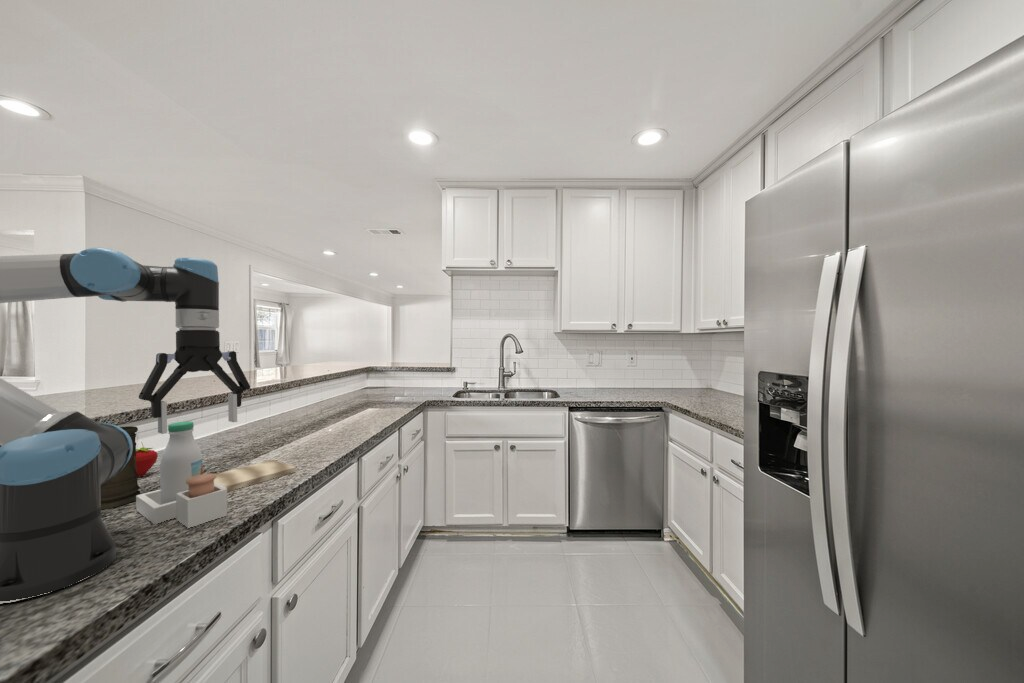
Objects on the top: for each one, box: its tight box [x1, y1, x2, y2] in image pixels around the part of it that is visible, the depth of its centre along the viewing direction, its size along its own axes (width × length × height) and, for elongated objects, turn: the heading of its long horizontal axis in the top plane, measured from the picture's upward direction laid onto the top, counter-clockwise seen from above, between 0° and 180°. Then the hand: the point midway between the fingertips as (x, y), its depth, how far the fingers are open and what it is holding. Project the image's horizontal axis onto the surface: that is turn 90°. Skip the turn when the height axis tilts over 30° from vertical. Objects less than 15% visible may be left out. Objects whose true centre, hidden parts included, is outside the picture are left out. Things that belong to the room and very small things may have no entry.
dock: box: [135, 482, 228, 529], centre depth 90 cm, size 13×22×6 cm, turn 56°
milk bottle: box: [159, 421, 204, 505], centre depth 92 cm, size 8×8×20 cm
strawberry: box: [136, 441, 159, 478], centre depth 114 cm, size 6×8×10 cm
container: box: [100, 425, 142, 510], centre depth 95 cm, size 9×9×18 cm
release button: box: [186, 472, 217, 498], centre depth 86 cm, size 5×5×6 cm
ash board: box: [214, 459, 297, 493], centre depth 112 cm, size 18×14×2 cm
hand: (199, 426), depth 86 cm, fingers open, 12 cm apart
